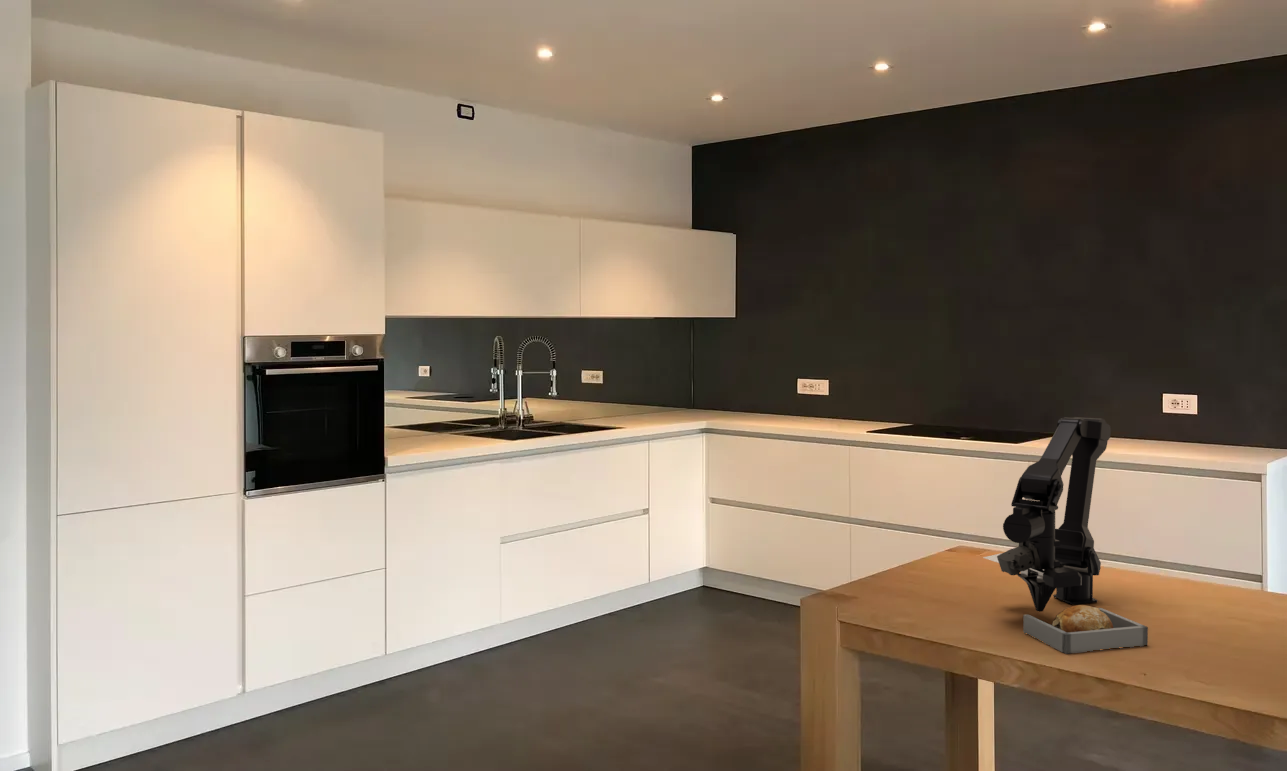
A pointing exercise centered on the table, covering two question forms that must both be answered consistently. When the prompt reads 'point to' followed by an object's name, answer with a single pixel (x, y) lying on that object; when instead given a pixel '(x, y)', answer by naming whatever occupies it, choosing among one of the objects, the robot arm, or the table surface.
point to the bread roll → (1082, 619)
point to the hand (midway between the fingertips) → (1039, 611)
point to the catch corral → (1089, 635)
